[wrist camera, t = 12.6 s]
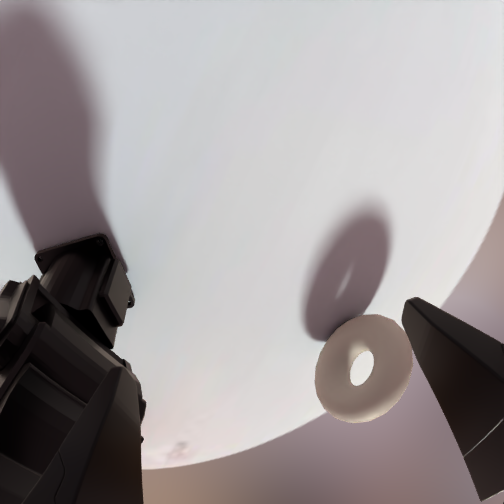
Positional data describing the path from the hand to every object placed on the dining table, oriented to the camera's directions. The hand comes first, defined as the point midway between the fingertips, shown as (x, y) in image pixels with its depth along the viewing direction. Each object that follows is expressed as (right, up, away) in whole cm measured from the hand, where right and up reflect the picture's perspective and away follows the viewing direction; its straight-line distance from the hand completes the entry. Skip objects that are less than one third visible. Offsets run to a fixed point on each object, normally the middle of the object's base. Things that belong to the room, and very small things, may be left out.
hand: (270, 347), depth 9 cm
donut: (+8, -5, +20) cm, 22 cm away
